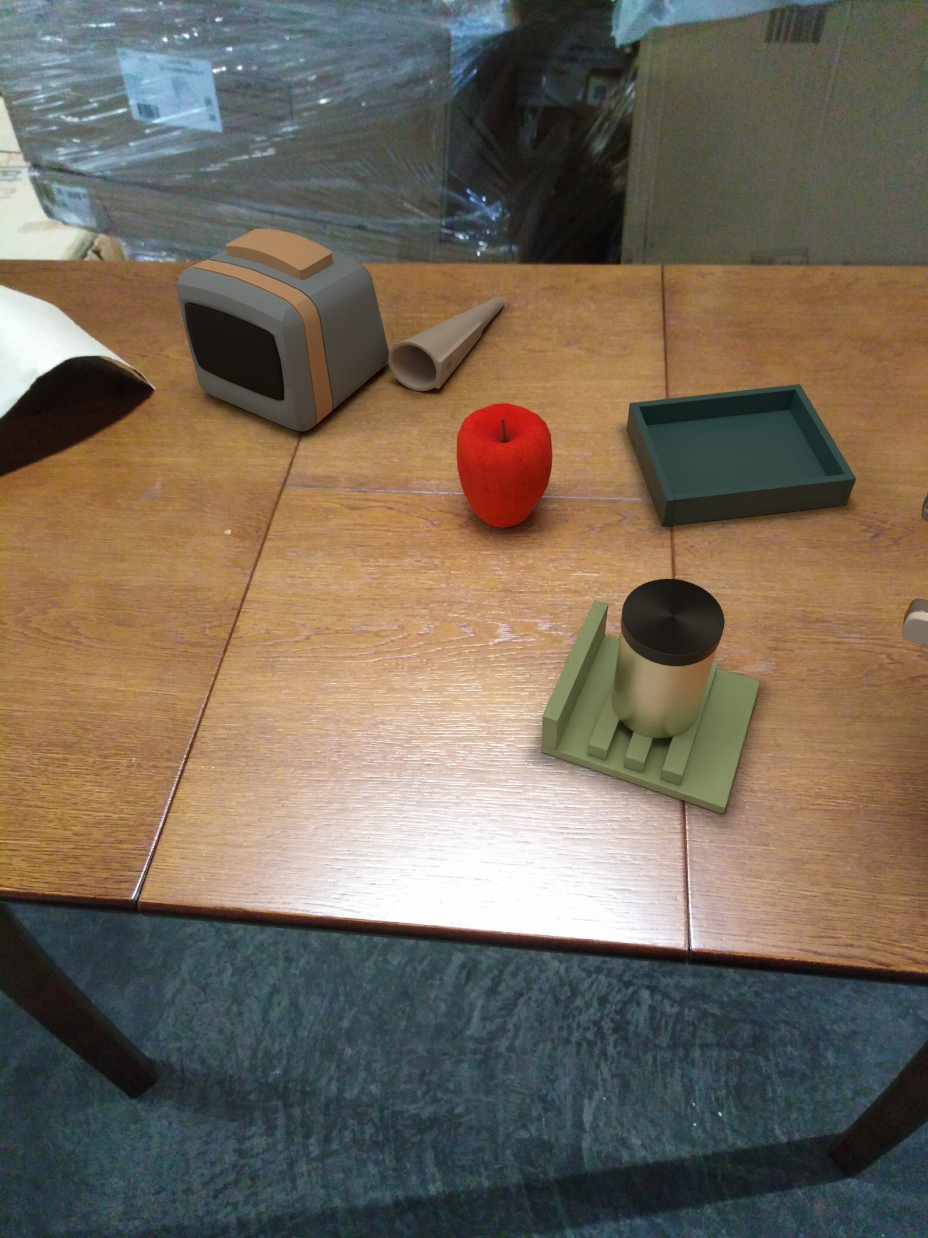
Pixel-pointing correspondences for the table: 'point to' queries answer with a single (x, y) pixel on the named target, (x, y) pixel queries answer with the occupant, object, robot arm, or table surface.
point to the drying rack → (667, 765)
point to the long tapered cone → (440, 347)
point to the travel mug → (665, 656)
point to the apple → (504, 462)
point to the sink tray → (737, 455)
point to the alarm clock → (282, 326)
